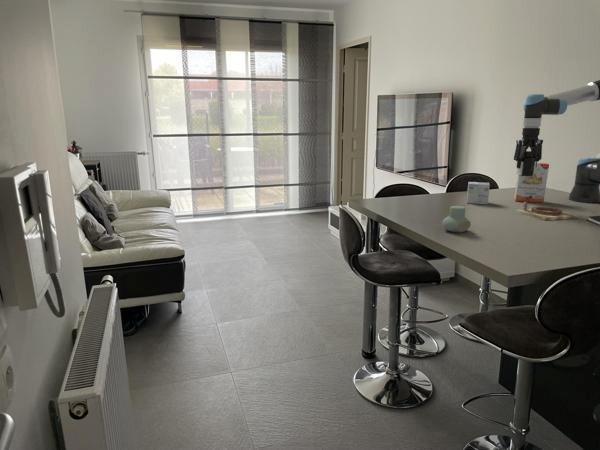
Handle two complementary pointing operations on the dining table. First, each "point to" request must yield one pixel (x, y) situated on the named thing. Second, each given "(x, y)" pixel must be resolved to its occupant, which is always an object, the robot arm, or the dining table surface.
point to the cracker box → (532, 185)
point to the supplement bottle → (528, 164)
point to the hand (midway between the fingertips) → (525, 174)
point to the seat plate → (547, 217)
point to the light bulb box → (478, 193)
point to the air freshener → (456, 220)
